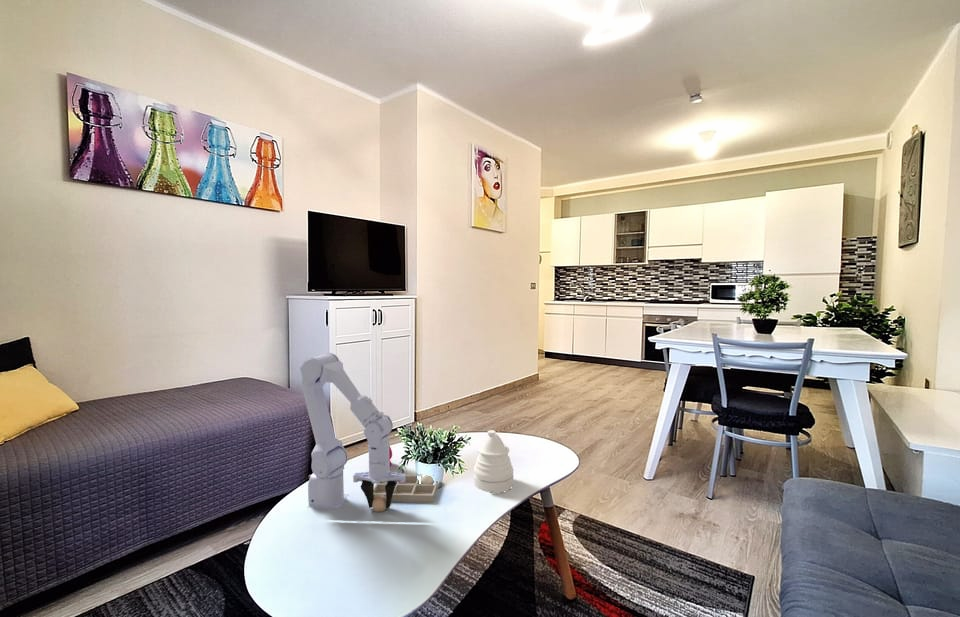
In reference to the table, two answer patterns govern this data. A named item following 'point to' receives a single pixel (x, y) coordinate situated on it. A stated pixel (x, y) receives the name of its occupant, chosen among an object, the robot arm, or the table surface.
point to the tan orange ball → (379, 503)
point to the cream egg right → (427, 480)
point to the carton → (409, 490)
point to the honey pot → (493, 466)
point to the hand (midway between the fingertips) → (380, 506)
